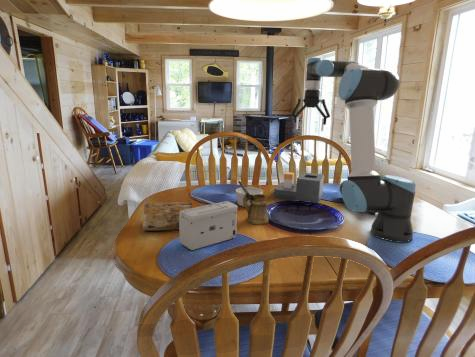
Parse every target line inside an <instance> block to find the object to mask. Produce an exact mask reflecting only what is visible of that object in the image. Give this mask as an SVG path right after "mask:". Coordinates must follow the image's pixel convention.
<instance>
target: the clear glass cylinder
mask: <svg viewBox="0 0 475 357" xmlns="http://www.w3.org/2000/svg"><path fill="white" fill-rule="evenodd" d="M294 179H295V172H290V171H285V172H284V173H283V182H284V184H283V188H289V189H293V184H295V183H294V181H295V180H294Z"/></svg>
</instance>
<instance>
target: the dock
mask: <svg viewBox="0 0 475 357" xmlns="http://www.w3.org/2000/svg"><path fill="white" fill-rule="evenodd" d="M324 179H325V174H323V173H315V172H304V171H303V172H302V173H301V174H300V175H299V176H298V177H296V183H294V184H293V189H289V188H283V184H284V181H283V182H282V181H281V182H279V184H278V185H276V187H275V188H274V189H273V199H276V200H283V201H289V200H299V201H310V202H315V203H320V202H321V199H322V197H323V189H324Z"/></svg>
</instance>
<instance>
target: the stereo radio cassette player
mask: <svg viewBox="0 0 475 357" xmlns="http://www.w3.org/2000/svg"><path fill="white" fill-rule="evenodd" d="M191 197H194V198H197V199H199V200H201V201H204V202H207V203H209V204H206V205H200V206H197V207H192V208H191V209H186V210H181V211H180V212H179V229H178V230H179V243H180V244H182V245H183V246H184V247H186V248H187V249H188V250H190V251H192V250H193V251H195V250H198V249H201V248H204V247H208V246H212V245H215V244H218V243H222V242H225V241H228V240H232V238H233V239H235V238H236V236H237V225H238V224H237V219H238V218H237V214H238V213H237V212H238V204H235V203H233V202H231V201H229V200H226V201H221V202H217V203H216V202H215V203H214V202H213V201H209V200H207V199H203V198H200V197H198V196H196V195H193V194H191Z"/></svg>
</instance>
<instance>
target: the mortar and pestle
mask: <svg viewBox="0 0 475 357" xmlns="http://www.w3.org/2000/svg"><path fill="white" fill-rule="evenodd" d="M237 183H238V184H239V186H240V188H242V189H243V190H244V192H245V193H246V194H245V196H244V198H243V205H244V209H245V210H246V212H247V218H246V221H247V222H248V223H249V224H252V225H258V226H260V225H261V226H262V225H265V224H268V223H269V216H268V207H267V204H268V200H267V196H266V195H265V194H256V195H252V194H249V192H248V191H247V189H246V188H245V187H246V186H245V185H244V184H243V182H242V181H240V180H237ZM248 200H250V203H251V204H250V206H249V205H248V204H247V201H248Z"/></svg>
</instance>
